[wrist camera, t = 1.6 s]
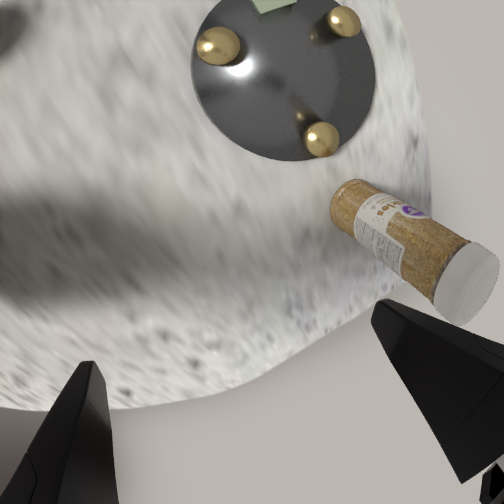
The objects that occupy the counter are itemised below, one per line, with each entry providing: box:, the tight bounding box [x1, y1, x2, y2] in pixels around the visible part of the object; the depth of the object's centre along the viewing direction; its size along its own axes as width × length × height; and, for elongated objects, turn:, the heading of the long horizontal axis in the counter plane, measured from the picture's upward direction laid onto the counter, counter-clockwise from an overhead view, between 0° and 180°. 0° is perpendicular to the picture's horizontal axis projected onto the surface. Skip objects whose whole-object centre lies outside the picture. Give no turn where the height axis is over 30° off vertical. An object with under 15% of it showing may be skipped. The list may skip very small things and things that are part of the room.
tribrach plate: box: [191, 0, 375, 161], centre depth 16 cm, size 13×13×2 cm
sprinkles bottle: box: [330, 180, 500, 327], centre depth 18 cm, size 5×5×13 cm
